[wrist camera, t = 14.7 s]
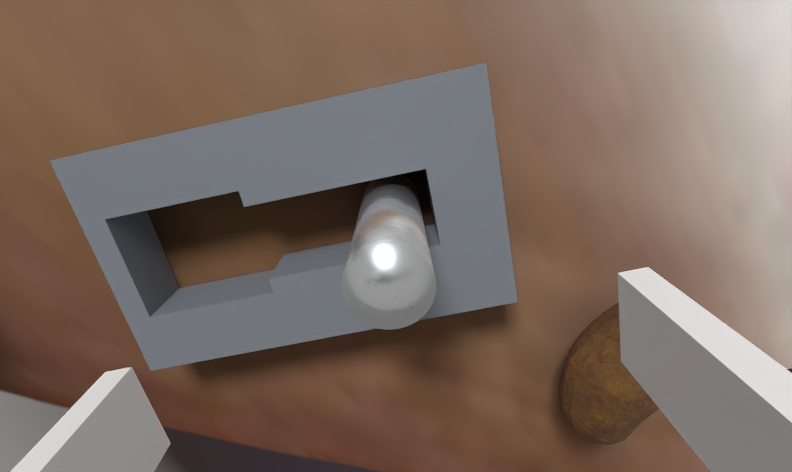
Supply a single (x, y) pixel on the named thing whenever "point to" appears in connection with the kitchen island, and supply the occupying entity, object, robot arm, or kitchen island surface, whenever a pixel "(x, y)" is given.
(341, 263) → the keyhole board
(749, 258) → the kitchen island surface
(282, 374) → the kitchen island surface
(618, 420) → the potato
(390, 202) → the peg
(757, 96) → the kitchen island surface
